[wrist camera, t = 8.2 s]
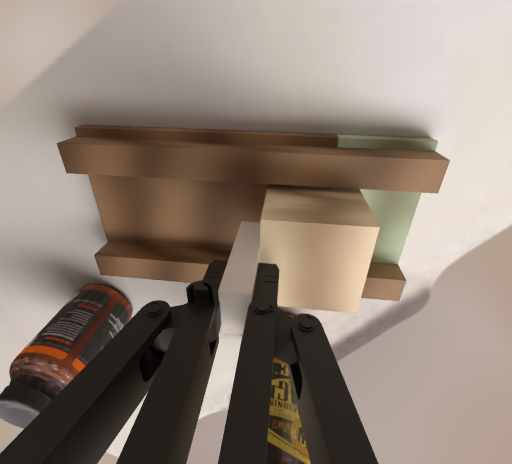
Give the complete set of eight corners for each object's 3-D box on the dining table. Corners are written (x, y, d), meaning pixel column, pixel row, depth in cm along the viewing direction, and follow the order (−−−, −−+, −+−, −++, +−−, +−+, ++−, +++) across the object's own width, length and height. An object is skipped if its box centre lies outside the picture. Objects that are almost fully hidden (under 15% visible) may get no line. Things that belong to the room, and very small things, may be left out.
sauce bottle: (324, 333, 29) (368, 728, 12) (279, 357, 31) (262, 707, 14) (278, 295, 27) (251, 699, 10) (235, 325, 30) (155, 681, 13)
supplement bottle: (68, 286, 30) (-43, 395, 20) (115, 276, 28) (20, 389, 18) (99, 326, 32) (15, 439, 22) (144, 319, 31) (75, 437, 21)
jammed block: (266, 250, 23) (258, 304, 18) (269, 179, 20) (260, 219, 15) (342, 256, 22) (356, 313, 17) (357, 184, 19) (379, 227, 14)
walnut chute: (120, 259, 27) (102, 280, 24) (83, 124, 21) (53, 133, 18) (386, 281, 25) (396, 306, 22) (431, 137, 18) (453, 149, 16)
